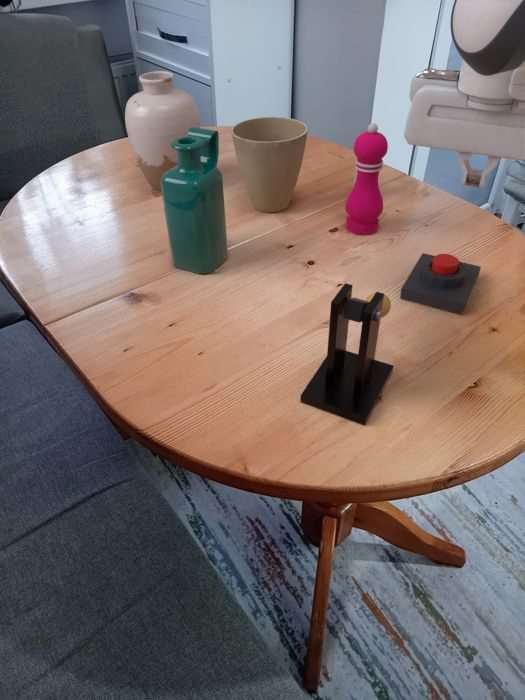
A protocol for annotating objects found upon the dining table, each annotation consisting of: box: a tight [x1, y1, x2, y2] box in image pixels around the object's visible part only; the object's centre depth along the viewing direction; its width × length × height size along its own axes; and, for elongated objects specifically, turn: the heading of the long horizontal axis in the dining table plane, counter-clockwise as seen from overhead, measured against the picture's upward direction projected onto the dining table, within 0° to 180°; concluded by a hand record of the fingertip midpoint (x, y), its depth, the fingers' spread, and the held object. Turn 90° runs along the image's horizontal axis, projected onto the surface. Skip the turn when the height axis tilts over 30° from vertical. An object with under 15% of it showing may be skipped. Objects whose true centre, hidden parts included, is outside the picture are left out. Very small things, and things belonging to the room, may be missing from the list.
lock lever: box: [343, 292, 392, 323], centre depth 69 cm, size 14×4×4 cm, turn 152°
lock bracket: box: [299, 282, 395, 426], centre depth 68 cm, size 11×9×15 cm
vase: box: [124, 70, 201, 192], centre depth 117 cm, size 16×16×23 cm
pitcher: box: [161, 127, 229, 275], centre depth 92 cm, size 10×8×22 cm
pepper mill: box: [344, 122, 389, 236], centre depth 100 cm, size 7×7×20 cm
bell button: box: [432, 253, 460, 275], centre depth 87 cm, size 4×4×2 cm
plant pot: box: [230, 116, 309, 213], centre depth 110 cm, size 15×15×16 cm
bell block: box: [399, 252, 482, 316], centre depth 89 cm, size 12×10×4 cm
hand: (472, 184), depth 74 cm, fingers closed
